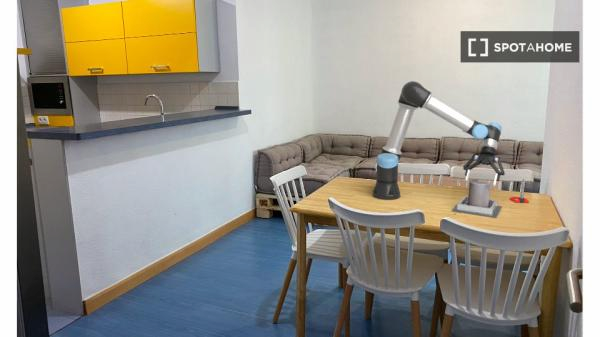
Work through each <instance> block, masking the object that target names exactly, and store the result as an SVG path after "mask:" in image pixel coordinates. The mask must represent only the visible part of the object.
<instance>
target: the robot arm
mask: <svg viewBox="0 0 600 337" xmlns="http://www.w3.org/2000/svg"><path fill="white" fill-rule="evenodd" d="M400 92H401V93H400V95H399V98H398V100H397V101H398V102H397V104H398V109H397V112H396V116H395V118H394V121H393V124H392V127H391V129H390V134H389V136H388V139H387V141H386V145H384V146H382V148H381V151H380V153H379V154H378V155H377V157H376V160H375V162H376V180H375V185H374V188H373V191H372V196H373V198H376V199H380V200H389V201H390V200H397V199H400V197H401V190H400V187H399V184H398V183H399V182H398V179H399V175H398V174H399V162H400V160H401V157H402V154H403V152H402V151H401V148H402V147H403V144H404V141H405V138H406V134H407V131H408V130H409V126H410V123H411V121H412V118H413V115H414V112H415V110H416V111H417V109H418V108H420V109H425V110H427V111H429V113H432V114H434V115H436V116H438V118H441V119H443V120H444V121H446V122H448V123H449V124H451V125H453V126H455V127H457V129H458V128H459V129H460V130H461V131H462V132H463V133H466V134H468V135H470V136H472V137H473V138H474V139H476V140H482V144H481V147H480V151H479V154H478V155H476V154H475V153H473V154H472V156H471V158H469V160H468V161H467V162H466V163H464V165H463V167H462V169H463V170H464V171H465V172H464V177H465V183H468V182H469V178H470V173H471V170H473V169H475V168H476V167H477V166H479V165H483V166H485V165H486V166H490V167H491V168H492V169H493V170H494V171H495V176H494V180H493V184H492V185H493V188H495V187H496V186H497V182H499V181H500V179H501V176H505V174H506V173H505V170H504V167H503V164H502V161H501V160H502V158H501V157H500V156H499V157H496V153H497V149H498V145H499V141H500V137H501V134H502V125H501V124H499V123H497V122H490V123H488V124H485V123H482V122H479V121H477V120H475V119H474V118H472V117H470V116H469V115H467V114H465V113H463V112H462V111H460V110H458V109H457V108H454V106H452V105H450V104H448V103H446V102H444V101H443V100H441V99H439V98H437V97H436V96H435V95H433V93H432V91H430V90H428V89H426V88H425V87H424V86H423V85H422V84H421V83H419V82H417V81H413V80H412V81H409V82H406V83H405V84H404V85H403V86H402V88H401V91H400ZM475 160H476V161H475ZM474 161H475V162H474ZM494 162H496V163H497V165H498V167H497V166H496V164H495V163H494Z"/></svg>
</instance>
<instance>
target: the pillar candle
mask: <svg viewBox="0 0 600 337" xmlns="http://www.w3.org/2000/svg"><path fill="white" fill-rule="evenodd" d="M468 182H469V183H468V195H467V197H468V204H467V205H472V206H479V207H487V208H488V205H489V199H490V192H491V191H490V190H491V183H492V181H489V180H488V179H487V180H486V179H482V178H479V179H478V178H476V179H475V178H474V179H470V180H468Z"/></svg>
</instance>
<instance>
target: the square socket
mask: <svg viewBox="0 0 600 337" xmlns="http://www.w3.org/2000/svg"><path fill="white" fill-rule="evenodd" d="M498 202H499V201H498V199H497V200H495V199H490V198H489V205H488V208H487V207H479V206H472V205H467V204H468V195H467V196H465V195H464V196H463V197H462V199H460V200H459V201H458V202H457V204H455V206H454V207H453V208H452V210H451V211H452V212H453V213H459V214H461V213H462V214H468V215H472V216H473V215H474V216H480V217H486V218H492V219H497V218H498V216H499V214H500V212H501V211H502V208H503V206H502V205H498Z"/></svg>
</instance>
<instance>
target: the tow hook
mask: <svg viewBox="0 0 600 337" xmlns="http://www.w3.org/2000/svg"><path fill="white" fill-rule="evenodd" d="M520 188H521V189H520V196H511V197H509V200H510V201H512V202H514V203H519V204H528V203H529V202H530V201H529V199H528V198H525V197H524V196H525V192H524V191H525V178H522V182H521V187H520Z"/></svg>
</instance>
